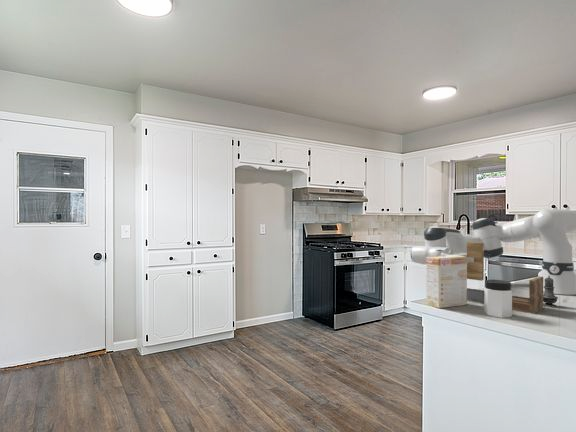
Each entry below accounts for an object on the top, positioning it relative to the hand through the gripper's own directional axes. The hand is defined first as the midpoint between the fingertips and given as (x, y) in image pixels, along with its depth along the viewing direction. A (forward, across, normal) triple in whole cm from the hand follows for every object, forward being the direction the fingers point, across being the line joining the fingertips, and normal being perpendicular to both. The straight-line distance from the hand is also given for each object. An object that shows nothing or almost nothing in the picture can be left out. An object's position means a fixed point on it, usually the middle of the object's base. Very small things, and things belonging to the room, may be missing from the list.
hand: (476, 259), depth 156 cm
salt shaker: (+24, -9, -17) cm, 31 cm away
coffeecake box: (-4, +20, -17) cm, 27 cm away
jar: (+15, +21, -17) cm, 31 cm away
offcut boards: (+16, +5, -17) cm, 24 cm away
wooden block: (0, 0, -9) cm, 9 cm away
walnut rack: (+17, +3, -17) cm, 24 cm away
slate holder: (-1, 0, -17) cm, 17 cm away
